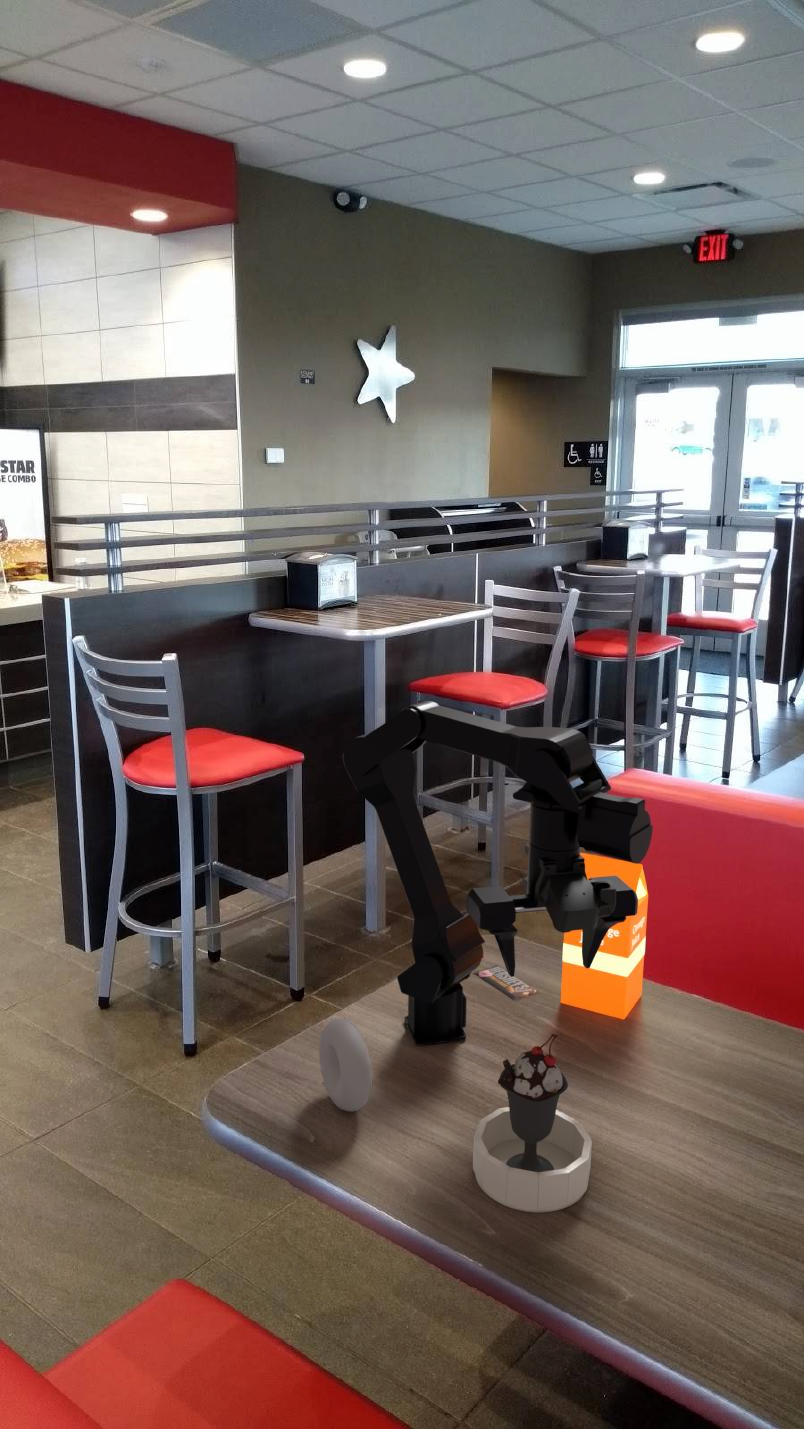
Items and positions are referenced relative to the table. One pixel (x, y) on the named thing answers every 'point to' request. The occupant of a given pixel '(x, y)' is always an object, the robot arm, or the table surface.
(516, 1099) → the sundae
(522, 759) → the robot arm
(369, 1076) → the donut
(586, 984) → the orange juice
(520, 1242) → the table surface
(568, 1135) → the white faceted bowl
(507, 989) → the chocolate bar
